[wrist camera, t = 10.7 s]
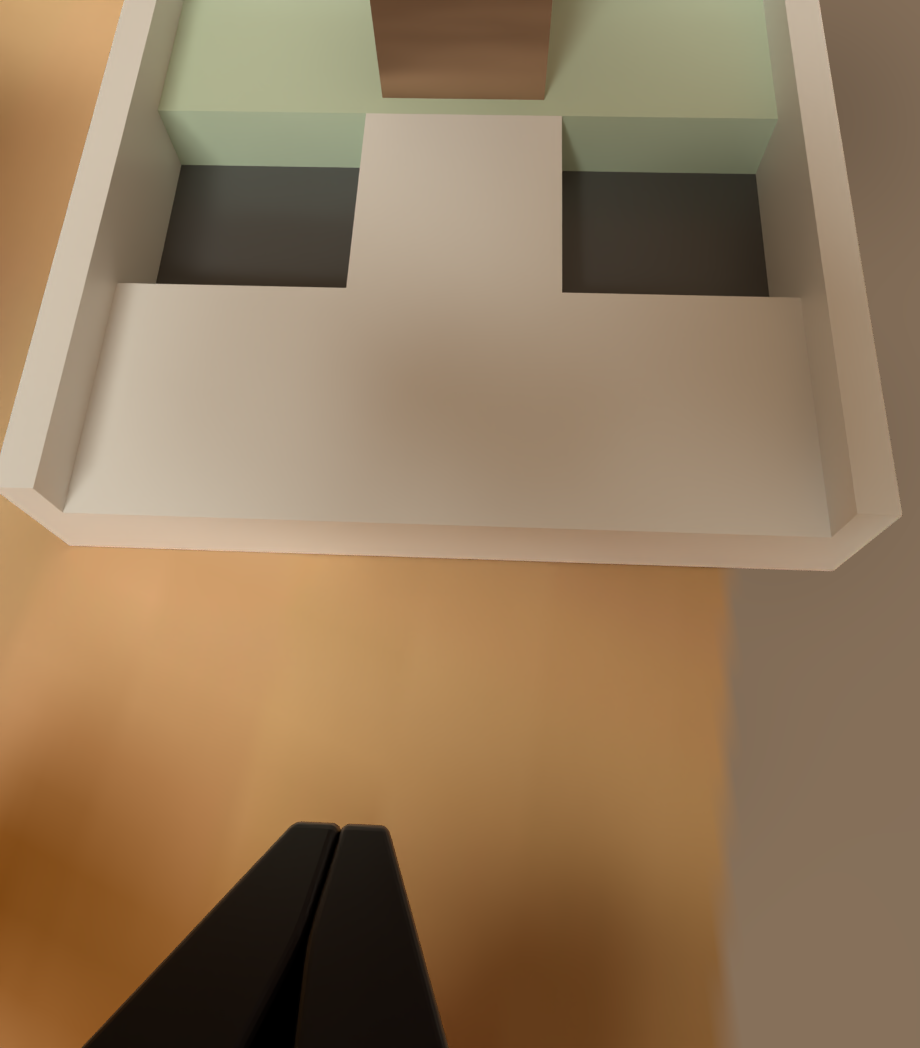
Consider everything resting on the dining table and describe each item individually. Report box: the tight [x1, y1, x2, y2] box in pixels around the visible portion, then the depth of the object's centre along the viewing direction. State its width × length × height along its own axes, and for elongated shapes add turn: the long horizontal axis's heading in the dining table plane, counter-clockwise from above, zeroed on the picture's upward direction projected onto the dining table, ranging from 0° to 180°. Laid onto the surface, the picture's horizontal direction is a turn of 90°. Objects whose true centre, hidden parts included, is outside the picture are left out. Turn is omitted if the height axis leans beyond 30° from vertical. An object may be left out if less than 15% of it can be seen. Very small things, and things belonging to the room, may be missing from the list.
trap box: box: [0, 0, 902, 571], centre depth 25 cm, size 21×21×4 cm
